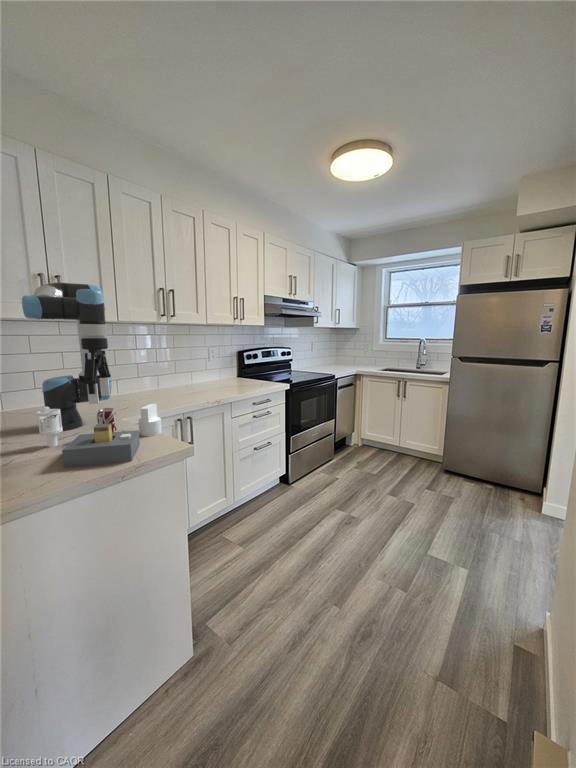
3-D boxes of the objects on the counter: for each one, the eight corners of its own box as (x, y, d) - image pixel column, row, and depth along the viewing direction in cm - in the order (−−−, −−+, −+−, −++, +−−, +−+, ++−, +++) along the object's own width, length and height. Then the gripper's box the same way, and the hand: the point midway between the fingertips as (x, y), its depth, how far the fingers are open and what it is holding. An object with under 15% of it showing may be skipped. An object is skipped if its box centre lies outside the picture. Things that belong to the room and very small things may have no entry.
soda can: (100, 436, 131) (97, 408, 130) (118, 434, 134) (116, 407, 132) (98, 441, 125) (95, 412, 123) (116, 438, 128) (114, 410, 126)
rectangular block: (99, 451, 112) (96, 424, 111) (113, 449, 114) (111, 423, 112) (96, 455, 108) (93, 428, 106) (110, 454, 109) (108, 426, 108)
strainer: (61, 441, 125) (56, 405, 122) (66, 445, 120) (62, 407, 118) (39, 446, 120) (34, 408, 117) (44, 450, 115) (39, 411, 113)
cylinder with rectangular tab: (145, 429, 141) (143, 403, 139) (165, 429, 140) (163, 403, 138) (135, 436, 132) (133, 408, 130) (156, 436, 131) (154, 408, 130)
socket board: (81, 450, 116) (79, 432, 115) (139, 444, 121) (138, 428, 120) (64, 467, 101) (61, 447, 100) (131, 460, 106) (130, 441, 105)
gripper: (93, 336, 115) (98, 392, 118) (66, 338, 91) (74, 408, 95) (115, 336, 117) (120, 392, 121) (95, 338, 93) (101, 406, 97)
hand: (100, 399), depth 108 cm, fingers open, 13 cm apart
